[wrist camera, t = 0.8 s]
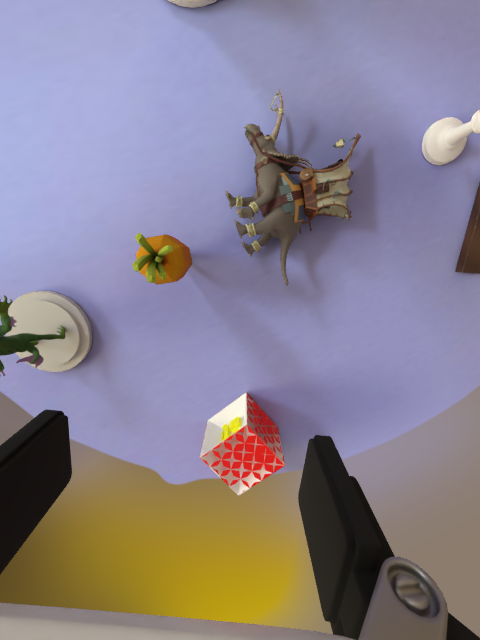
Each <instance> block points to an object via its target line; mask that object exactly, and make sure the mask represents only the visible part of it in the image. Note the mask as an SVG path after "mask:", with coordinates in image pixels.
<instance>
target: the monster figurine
mask: <svg viewBox="0 0 480 640" xmlns="http://www.w3.org/2000/svg"><path fill="white" fill-rule="evenodd" d="M4 297H5V301H4V302H1V301H0V316H1V322H2V325H1V326H0V355H9V354H13V353H15V352H16V354H17V355H18V356H19V357H20V358H21V359H20V360H18V361H17V363H18V362H23V361H25V362H26V363H28V364H29V365H31V366H33V367H35V368H38V369H40V370H44V371H50V372H60V371H65V370H68V369H71V368H73V367H74V366H76V365H78V364H79V363H80V362H81V361H83V360H84V359H85V357H86V356H87V355H88V353H89V351H90V348H91V346H92V328H91V325H90V322H89V320H88V318H87V316H86V314H85V313H84V311H83V310H82V309H81V308H80V307H79V306H78V305H77V304H76V303H75V302H74V301H73V300H71V299H70V298H68V297H66V296H64V295H62V294H60V293H56V292H53V291H36V292H31V293H27V294H24V295H22V296H20V297H19V298H17V299H16V300H15V301H14V302H13V303H12V300H11V299H10V301H11V302H10V303H7V297H6V296H5V295H4ZM10 305H11V306H10ZM8 308H9V309H8ZM5 334H6V335H7V337H4V336H3V335H5ZM3 369H4V366H3V364H2V362H1V360H0V372H2V374H3V375H5V374H4V372H3Z"/></svg>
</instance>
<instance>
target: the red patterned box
mask: <svg viewBox="0 0 480 640" xmlns="http://www.w3.org/2000/svg"><path fill="white" fill-rule="evenodd" d="M200 458H201V459H202V460H203V461H204V462H205V463H206V464H207V465H208V466H209V467H210V468H211V469H212V470H213V471H214V472H215V473H216V474H217V475H218V476H219V477H220V478H221V479H222V480H223V481H224V482H225V483H226V484H227V485H228V486H229V487H230V488H231V489H232V490H233V491H234V492H235V493H236V494H237V495H240V494H242V493H244V492H245V491H246V490H248V489H250V488H251V487H253V486H254V485H256V484H257V483H259V482H260V481H262V480H263V479H265V478H267V477H268V476H270V475H271V474H273V473H274V472H276V471H277V470H279V469H280V468H282V467H283V466H285V462H284V457H283V452H282V447H281V441H280V436H279V431H278V427H277V426H276V425H275V423H274V422H273V421H272V420H271V419H270V418H269V417H268V416H267V415H266V413H265V412H264V411H263V410H262V409H261V408H260V407H259V406H258V405H257V404H256V402H255V401H254V400H253V399H252V398H251V397H250V396H249V395H248V393H247V392H246V393H245V394H243V395H242V396H241V397H239V398H238V399H236V400H235V401H234V402H232V403H231V404H230V405H228V406H227V407H226V408H224V409H223V410H221V411H220V412H219V413H217V414H216V415H215V416H213V417H212V418H211V419H209V420H208V421H207V426H206V431H205V436H204V440H203V445H202V450H201V455H200Z"/></svg>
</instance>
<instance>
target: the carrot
mask: <svg viewBox="0 0 480 640" xmlns="http://www.w3.org/2000/svg"><path fill="white" fill-rule="evenodd" d="M135 239H136V240H137V242H138V243H139V244H140V245H141V247H140V248H139V250H138V252H137V253H136V258H137V260H136V261H135V262H134V263H133V268H134V270H135V271H140V273H141V274H142V275H144V276H145V277H147V282H151V283H156V284H163V283H169V282H175V281H178V280H180V279H181V278H182V277H184V275H185V274H186V272H187V271H188V269H189V267H190V266H191V264H192V259H191V254H190V249H189V248H188V247H187V246H186V245H184V244H183V243H181V242H180V241H179V240H177V239H176V238H174V237H172V236H169V235H160V236H155V237H149V238H146V239H145V238H144V236H143V235H142V234H141V233H138V234H137V235H136V237H135Z"/></svg>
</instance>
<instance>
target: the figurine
mask: <svg viewBox="0 0 480 640" xmlns="http://www.w3.org/2000/svg"><path fill="white" fill-rule="evenodd" d="M278 93H279V94H276V96H277V95H279V97H280V109H279V110H278V107H277V105H276V109H277V110H276V109H274V110H272V104H273V103H271V110H272V111H277V114H278V119H277V123H276V126H275V128H274V131H273V133H272V135H271V136H270V135H266V136H264V135H263V133H262V132H261V131H260V128H259V126H256V125H254V124H248V125H247V126H245V128H246V129H247V130H246V131H245V135H246V137H247V138H248V140H249V142H250V145H251V146H252V147H253V149H254V151H255V154H256V156H257V157H256V161H255V167H254V171H255V173H256V186H257V189H256V192H255V195H254V196H253V197H244V198H242V197H240V196H238V197H237V196H236V198H234V197H233V196H232V195H231V194H230V193H228V192H227V191H225V192H226V196H227V199H228V200H229V201H230V204H229V205H230V208H231V209H232V207H233V206H234V205H236V207H238V208H239V207H242V206H249V207H248V208H243V209H240V208H239V209H238V210H237V211H236V212H238V213H237V214H239V215H240V216H239V217H241V218H247V217H249V218H250V219H252V220H254V218H253V217H254V214H255V212H256V213H258V212H257V211H258V210H259V209H260V208H261V211H262V215H263V217H265V218H264V219H263V220H262V221H260V222H258V223H256V224H253V223H252V224H251V223H249V225H247V224H246V226H244V225H242V224H240V223H239V222H237V220H234V221H235V223H236V227H237V230H238V232H239V235H240V237H241V238H242V236H243V235H244V234H247V233H248V236H249V237H250V235H251V236H252V237H253V235H255V236H256V234H258V235H259V234H262V235H261V237H260V238H259V239H258V240H257V241H256V240H255V241H253V243H251V245H247V244H245V243H244V242H243V241H241V242H242V245H243V247H244V248H245V250H246V251H247V252H248V254H250V257H251V256H252V253H253V252H254V251H256V252H257V251H259V252H260V249H261V247H262V246H264V245H265V244H266V243H267V242H268V241H269V240H270V239H271V238H275V237H277V238H279V239H280V241H281V255H280V260H281V270H282V275H283V277H284V280H285V283H286V285H288V279H287V275H286V269H285V268H286V257H287V252H288V249H289V247H290V245H291V243H292V241H293V240H294V238H295V237H296V235H297V233H298V231H299V229H300V227H301V225H302V224H305V223H309V225H310V221H311V220H312V219H313V218H314V217H315V216H316V215H328V216H335V217H344V218H347V219H348V220H349V219H350V218H351V216H350V214H351V213H350V212H351V211H350V212H349V210H348V208H347V205H346V202H347V199H348V196H349V195H350V194H351V193H352V192H353V191H351V190H349V188H348V185H347V183H348V181H349V179H350V177H351V176H352V174H353V172H352V171H350V168H349V166H348V162H349V160H350V157H351V155H352V152H353V149H354V147H355V145H356V144H357V142H358V140H359V139H360V137H361V136H360V135H359V133H358V134H357V136H356V138H355V137H353V138H354V139H355V141H354V143H353V145H352V147H351V149H350V151H349V153H348V155H347V157H346V158H345V160H344V161H343V159H340V160H338V162H337V163H335V164H332V165H330V166H328V167H326V168H323V169H320V170H316V169H313V168H312V167H309V165H308V164H306V163H305V162H303V161H306V162H308V163H309V164H310V165H311V163H310V162H309V161H307V160H306V159H303V158H298V157H299V156H298V155H286V154H283V153H280V152H279V151H277V150H276V149H275V147H274V145H275V141H276V139H277V136H278V133H279V129H280V125H281V121H282V116H283V111H284V110H283V100H282V96H281V93H280V91H279V90H278ZM276 96H275V98H276ZM275 98H274V100H275ZM274 100H273V101H272V102H274ZM248 131H249V132H248ZM358 136H359V137H358ZM353 138H351V139H349V140H352V139H353ZM349 140H346V141H344V140H343V138H342V139H340V140H339V141H338V142H336V143H335V145H334V146H333V147H335V148H338V147H343V146H344V142H347V141H349ZM300 160H302V161H300ZM295 163H302V164H305V165H307V166H308V167H309V168H306V167H304V166H302V165H299V164H295ZM293 166H298V167H301V168H303V170H302V171H300V172H293V171H288V170H290V168H292V167H293ZM311 166H312V165H311ZM291 174H300V176H299V177H300V179H301V180H302V181H301V183H300V185H299V184H298V183H297V182H296V181H295V179H294V178H293V177H292V176H291ZM257 176H258V182H257ZM304 214H305V215H306V216H308V218H309V222H304V223H302V222H303V220H304ZM344 218H343V219H344ZM341 220H342V219H341ZM339 221H340V220H339ZM310 231H311V225H310ZM300 233H301V229H300Z"/></svg>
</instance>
